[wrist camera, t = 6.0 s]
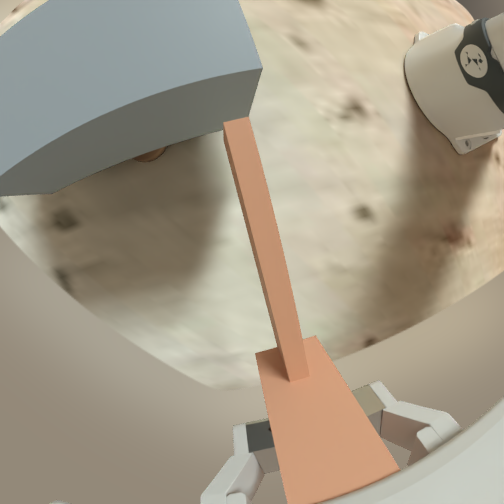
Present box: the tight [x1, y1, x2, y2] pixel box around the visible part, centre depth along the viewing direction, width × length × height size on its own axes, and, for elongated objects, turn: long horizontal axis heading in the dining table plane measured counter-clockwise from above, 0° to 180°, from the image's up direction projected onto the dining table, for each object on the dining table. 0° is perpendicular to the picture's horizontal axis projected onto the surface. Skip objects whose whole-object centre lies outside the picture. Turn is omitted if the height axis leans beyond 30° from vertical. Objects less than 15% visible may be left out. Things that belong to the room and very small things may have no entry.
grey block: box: [0, 0, 263, 196], centre depth 15 cm, size 18×12×15 cm, turn 105°
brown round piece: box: [132, 146, 167, 162], centre depth 23 cm, size 4×4×2 cm
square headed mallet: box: [223, 117, 400, 504], centre depth 7 cm, size 3×12×9 cm, turn 15°
